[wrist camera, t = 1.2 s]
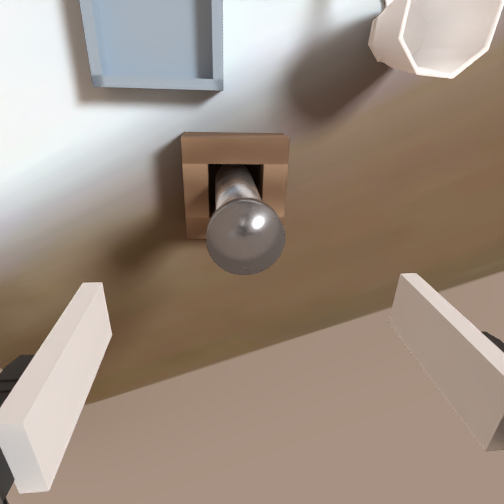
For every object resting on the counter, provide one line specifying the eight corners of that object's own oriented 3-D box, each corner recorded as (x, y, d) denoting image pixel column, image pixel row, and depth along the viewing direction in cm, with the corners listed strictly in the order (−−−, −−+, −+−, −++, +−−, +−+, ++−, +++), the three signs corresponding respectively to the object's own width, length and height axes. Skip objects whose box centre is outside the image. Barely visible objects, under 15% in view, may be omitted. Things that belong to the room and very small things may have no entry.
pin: (208, 155, 32) (205, 202, 19) (258, 156, 32) (288, 202, 20) (209, 205, 34) (207, 275, 21) (257, 204, 34) (282, 274, 22)
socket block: (183, 131, 31) (180, 137, 28) (282, 133, 32) (290, 139, 28) (189, 224, 35) (186, 239, 32) (276, 224, 36) (282, 237, 32)
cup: (359, 92, 31) (403, 95, 24) (339, -44, 26) (386, -92, 19) (435, 66, 30) (503, 61, 23) (427, -77, 26) (510, -138, 19)
